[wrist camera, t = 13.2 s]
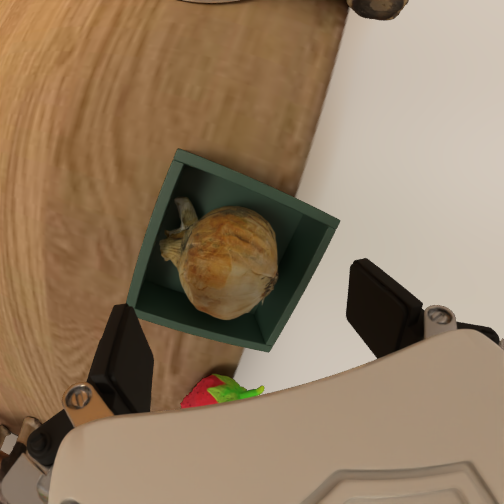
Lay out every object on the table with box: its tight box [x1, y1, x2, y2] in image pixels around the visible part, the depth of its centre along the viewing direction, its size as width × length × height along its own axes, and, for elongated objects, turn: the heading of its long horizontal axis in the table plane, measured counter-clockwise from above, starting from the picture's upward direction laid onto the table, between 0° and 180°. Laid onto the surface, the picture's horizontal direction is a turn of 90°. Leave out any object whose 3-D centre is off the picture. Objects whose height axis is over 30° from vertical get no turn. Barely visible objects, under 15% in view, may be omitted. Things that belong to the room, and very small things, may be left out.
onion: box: [159, 196, 278, 320], centre depth 18 cm, size 8×8×8 cm
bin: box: [126, 148, 340, 352], centre depth 20 cm, size 11×11×5 cm
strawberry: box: [180, 374, 264, 409], centre depth 25 cm, size 6×7×10 cm
